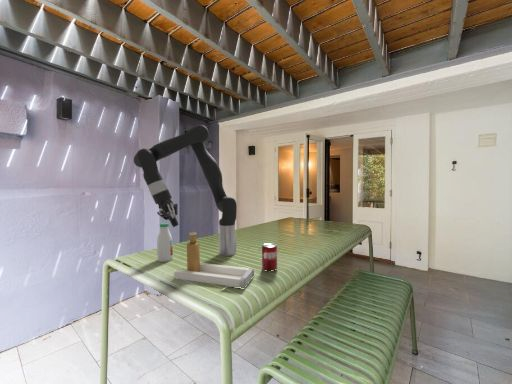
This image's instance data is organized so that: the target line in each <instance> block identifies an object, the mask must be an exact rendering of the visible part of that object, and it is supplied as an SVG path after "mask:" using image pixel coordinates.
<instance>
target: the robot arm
mask: <svg viewBox="0 0 512 384" xmlns="http://www.w3.org/2000/svg"><path fill="white" fill-rule="evenodd" d="M208 129H209V128H207V127H206V125H203V124H196V125H193V126H191V127H189V128H188V129H187V130H186V132H185V133H182V134H180V135H177V136H174V137H172V138H168V139H166V140H163V141H161V142H158V143H156V144H155V145H153V146H151V147H150V148H141V149H139V150H138V151H137V152H136V153H135V155H134V157H133V163H134V165H135V166H136V167H138V168H141V169H142V172H143V175H142V176H143V179H144V181H145V183H146V185H147V188H148V191H149V193H150V195H151V197H152V199H153V202H154V203H155V205H158V209H159V211H157V215H158V216H159V217H161V218H163V220H165V221H169V222H170V224H171V226H172V227H173V228H175V227H177V226H179V222H178V220H177V215H178V211H179V210H178V203H174V202H173V200H172V194H171V192H170V190H169V188H168V186H167V185H166V183H165V181H164V179H163V177H162V175H161V172H160V171H159V168H158V163H157V162H158V161H160V160H162V159H164V158H167V157H169V156H171V155H174V154H176V153H177V152H179V151H181V150H182V149H185V148H187V147H189V146H190V148H191V149H192V151H193V152H194V154H195V156H196V158H197V160H198V164H199V165H200V168H201V169H202V173H203V176H204V177H205V180H206V181H207V184H208V186H209V188H210V191H211V193H212V196H213V199H214V202H215V205H216V206H215V207H217V210H218V211H220V212H221V218H220V219H219V221H218V229H219V231H218V232H219V233H218V234H219V235H218V236H219V238H218V240H219V241H218V242H219V247H218V248H219V255H220V256H224V257H225V256H226V257H229V256H230V257H231V256H233V255H236V253H237V236H236V220H237V214H238V213H237V210H238V209H237V208H238V207H237V206H238V205H237V201H236V199H234V197H231V196H228V195H227V194H226V192H225V188H224V185H223V174H222V171H221V168H220V166H219V164H218V162H217V160H216V159H215V158H214V157H213V156H212V155H211V154H210V152H209V151H208V150H207V148H206V145H205V144H204V143H205V142H206V141H207V140H208V139H209V136H210V132H209V130H208Z"/></svg>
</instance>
